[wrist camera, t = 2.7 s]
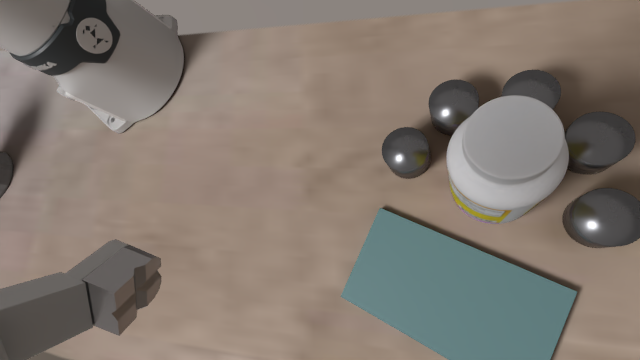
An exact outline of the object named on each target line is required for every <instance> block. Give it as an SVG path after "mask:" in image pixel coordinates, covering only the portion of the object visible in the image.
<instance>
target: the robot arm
mask: <svg viewBox="0 0 640 360" xmlns="http://www.w3.org/2000/svg"><path fill="white" fill-rule="evenodd" d="M0 48H2V49H4V50H6V51H8V52H9V53H10V54H11V55H12V57H13V58H15V59H16V60H18V61H20V62H22V63H23V64H25V65H26V66H28V67H30V68H32V69H35V70H39V71H41V72H43V73H45V74H47V75H51V76H53V77H54V78H55V80H56V81H57V83H58V84H59V87H58V88H57V92H58V93H60V94H61V95H63V96H65V97H67V98H69V99H71V100H73V101H75V100H77V101H79V102H81V103H83V104H85V105H86V106H87V107H88V108H90V109H91V110H92V111H93V112H94V113H95V114H96V115H97V116H98V117H99V118H100V119H101V120H102V121H103V122H104V123H105V124H106V125H107V126H108V127H109V128H110V129H111V130H112V131H114V132H116V133H122V132H124V131H125V130H126V129H128V128H129V127H130V126H131V125H132V124H133V123H135V122H137V121H139V120H142V119H145V118H147V117H149V116H151V115H152V114H154V113H155V112H156V111H158V110H159V109H160V108H161V107H162V106H163V105H164V104H165V103H166V102H167V101H168V99H169V98H170V97H171V95H172V94H173V92H174V90H175V88H176V87H177V84H178V82H179V80H180V77H181V74H182V70H183V63H184V53H183V48H182V45H181V43H180V41H179V38H178V35H177V20H176V19H174V18H173V17H171V16H170V15H159V16H158V15H157V16H155V15H153V14H152V13H150V12H149V11H148V10H146V9H145V8H144V7H142V6H141V5H140V4H138V3H137V2H136V1H134V0H0ZM160 267H161V258H159V257H156V256H154V255H152V254H149V253H147V252H145V251H142V250H140V249H138V248H135V247H133V246H131V245H128V244H126V243H124V242H121V241H119V240H116V239H115V240H112V241H109V242H108V243H106V244H105V245H103V246H102V247H101V248H99V249H98V250H97V251H95V252H94V253H93V254H91V255H90V256H88V257H87V258H86V259H84V260H83V261H82V262H80V263H79V264H78V265H76V266H75V267H73V268H72V269H71V270H69V271H68V272H67V273H65V274H64V273H62V272H59V273H55V274H52V275H48V276H45V277H41V278H38V279H34V280H31V281H27V282H24V283H20V284H16V285H13V286H9V287H6V288H2V289H0V360H27V359H29V358H31V357H33V356H35V355H37V354H39V353H41V352H43V351H45V350H47V349H49V348H51V347H53V346H55V345H58V344H60V343H62V342H64V341H66V340H68V339H70V338H72V337H74V336H76V335H78V334H80V333H82V332H84V331H86V330H88V329H90V328H92V327H93V325H94V326H96V327H99V328H101V329H104V330H106V331H109V332H111V333H114V334H116V335H119V336H120V335H121V333H122V332H123V331H124V330H125V329H126V328H127V327H128V326H129V325H130V324H131V323H132V322H133V321H134V320H135V319H136V317H137V310H138V309H140V308H143V307H145V306H148V304H149V303H150V302H151V301H152V300H153V299H154V298H155V296H156V294H157V292H158V291H159V289H160V285H161V275H160V274H159V272H158V269H159V268H160Z"/></svg>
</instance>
